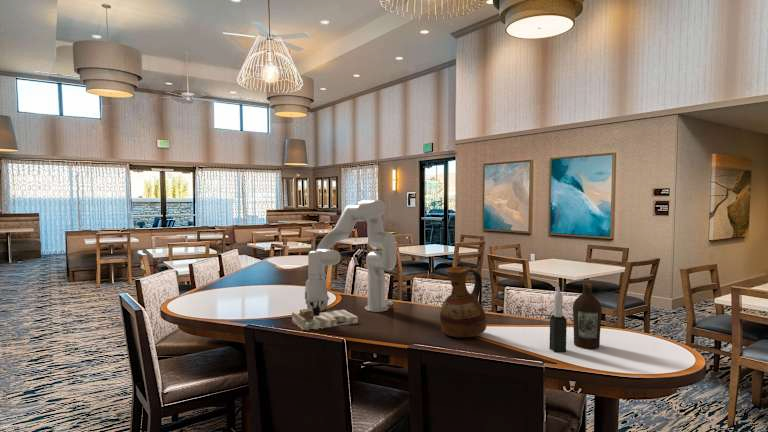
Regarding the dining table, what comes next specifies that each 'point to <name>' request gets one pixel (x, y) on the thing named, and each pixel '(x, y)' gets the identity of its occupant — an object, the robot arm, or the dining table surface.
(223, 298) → the dining table surface
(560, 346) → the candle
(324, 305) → the food container
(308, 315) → the walnut block
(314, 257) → the robot arm
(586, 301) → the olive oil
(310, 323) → the trap board
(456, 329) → the ceramic pitcher
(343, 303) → the dining table surface
